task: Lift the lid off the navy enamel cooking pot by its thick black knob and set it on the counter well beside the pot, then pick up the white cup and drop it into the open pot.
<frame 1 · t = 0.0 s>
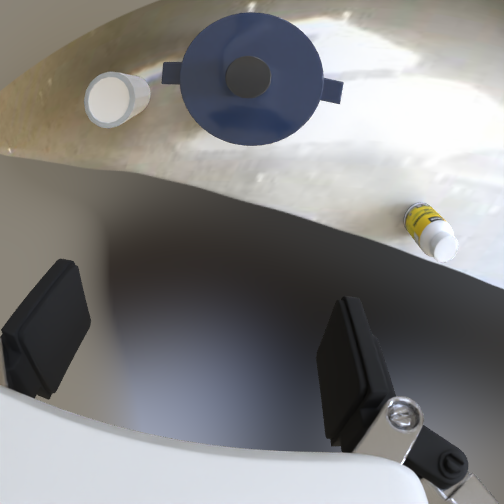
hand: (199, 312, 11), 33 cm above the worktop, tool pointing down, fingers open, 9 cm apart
pot lid: (251, 77, 27), point 9 cm above the worktop, touching pot
white cup: (131, 95, 36), on the worktop
supplement bottle: (417, 217, 43), on the worktop
pot: (254, 79, 35), on the worktop
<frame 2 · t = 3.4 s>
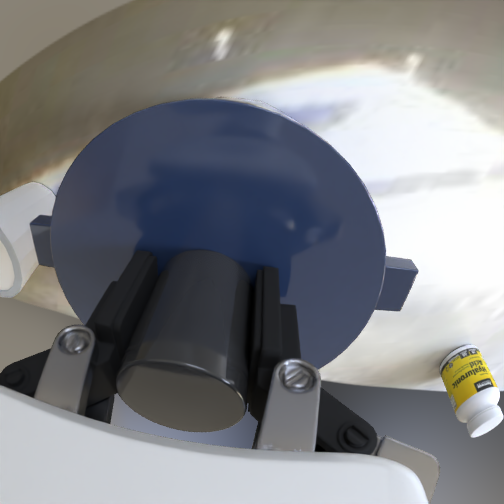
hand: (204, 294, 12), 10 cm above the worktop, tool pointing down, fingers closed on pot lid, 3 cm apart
pot lid: (207, 280, 12), point 10 cm above the worktop, touching gripper, pot
white cup: (39, 212, 22), on the worktop
supplement bottle: (457, 358, 29), on the worktop
pot: (231, 194, 20), on the worktop
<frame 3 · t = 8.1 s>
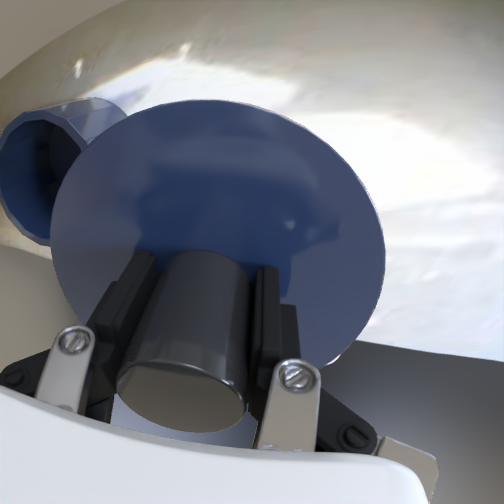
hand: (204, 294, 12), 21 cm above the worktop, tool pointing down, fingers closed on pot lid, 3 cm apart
pot lid: (207, 281, 12), point 21 cm above the worktop, touching gripper
pot: (89, 153, 30), on the worktop
when the fingers open (1 cm above the worktop, at t = 12.8 s): pot lid stays where it is, point 1 cm above the worktop.
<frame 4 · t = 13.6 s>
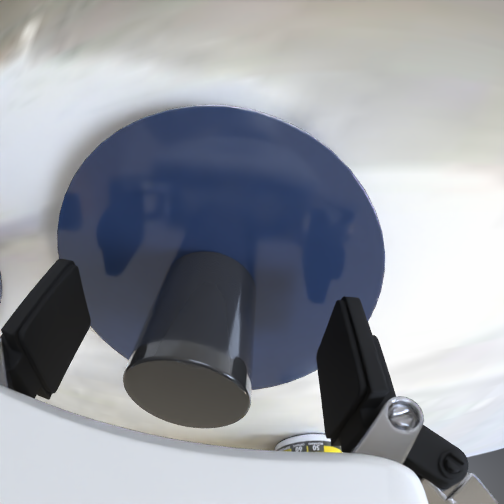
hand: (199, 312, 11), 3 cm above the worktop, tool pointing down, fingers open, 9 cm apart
pot lid: (211, 281, 13), point 1 cm above the worktop
supplement bottle: (307, 443, 22), on the worktop
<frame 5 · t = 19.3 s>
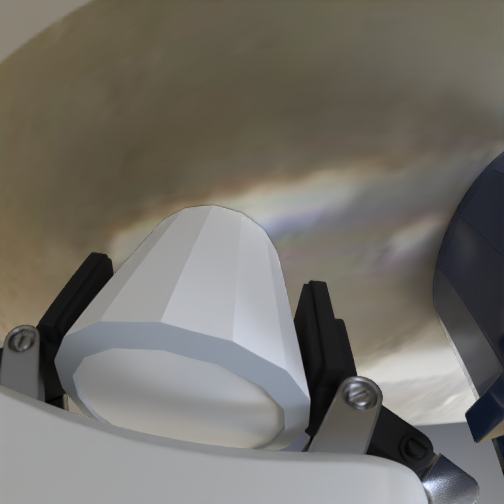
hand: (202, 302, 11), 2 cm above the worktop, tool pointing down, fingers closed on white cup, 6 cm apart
white cup: (211, 265, 13), on the worktop, touching gripper
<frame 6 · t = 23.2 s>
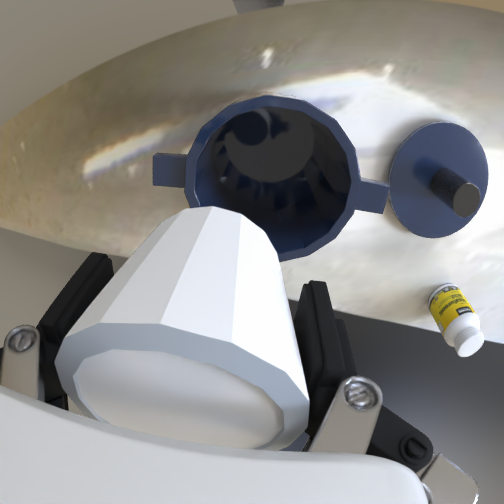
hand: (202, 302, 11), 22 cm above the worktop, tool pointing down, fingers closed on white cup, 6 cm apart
pot lid: (441, 181, 30), point 1 cm above the worktop
white cup: (211, 266, 13), point 20 cm above the worktop, touching gripper
supplement bottle: (442, 296, 39), on the worktop
pot: (270, 155, 30), on the worktop
when the fingers open (7 cm above the worktop, at t = 27.7 s): white cup stays where it is, resting on pot.
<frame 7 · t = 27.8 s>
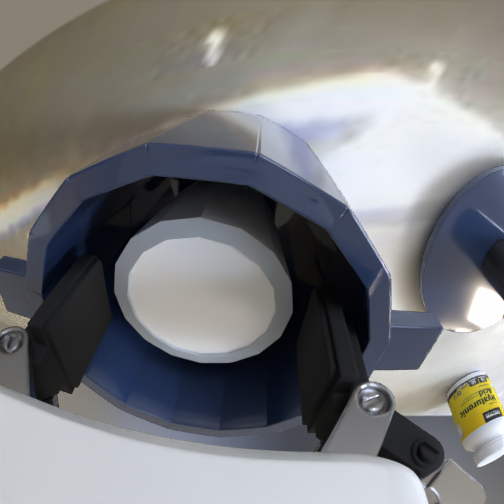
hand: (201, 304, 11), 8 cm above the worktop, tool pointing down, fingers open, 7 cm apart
pot lid: (496, 255, 17), point 1 cm above the worktop
white cup: (222, 222, 18), resting on pot
supplement bottle: (465, 384, 26), on the worktop
pot: (225, 223, 18), on the worktop
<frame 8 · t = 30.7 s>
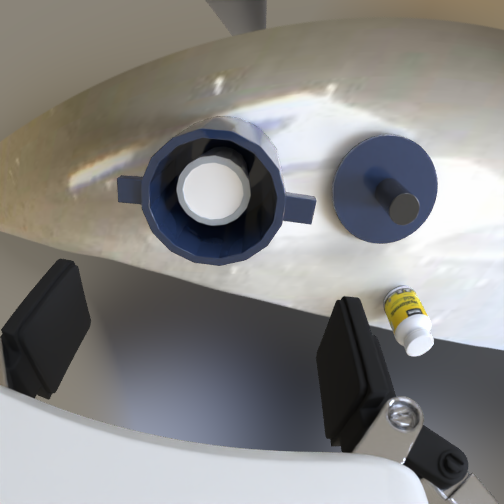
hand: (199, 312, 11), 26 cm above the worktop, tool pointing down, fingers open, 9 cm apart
pot lid: (387, 190, 34), point 1 cm above the worktop
white cup: (222, 170, 34), resting on pot
supplement bottle: (398, 298, 43), on the worktop
pot: (223, 171, 35), on the worktop
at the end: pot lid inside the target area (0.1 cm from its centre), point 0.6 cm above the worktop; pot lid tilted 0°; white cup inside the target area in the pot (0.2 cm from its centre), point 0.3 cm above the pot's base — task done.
